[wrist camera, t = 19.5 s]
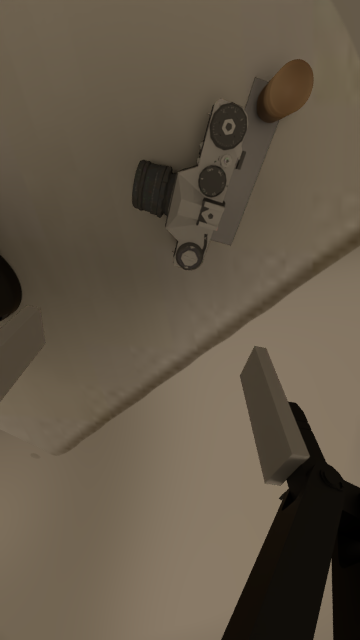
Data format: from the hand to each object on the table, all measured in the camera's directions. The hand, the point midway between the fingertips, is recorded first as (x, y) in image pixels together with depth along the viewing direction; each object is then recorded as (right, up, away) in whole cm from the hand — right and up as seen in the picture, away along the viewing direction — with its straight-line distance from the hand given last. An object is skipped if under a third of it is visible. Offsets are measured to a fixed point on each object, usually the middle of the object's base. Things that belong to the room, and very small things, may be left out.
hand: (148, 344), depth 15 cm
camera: (+2, +19, +16) cm, 25 cm away
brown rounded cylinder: (+12, +25, +11) cm, 30 cm away
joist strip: (+10, +20, +15) cm, 26 cm away
